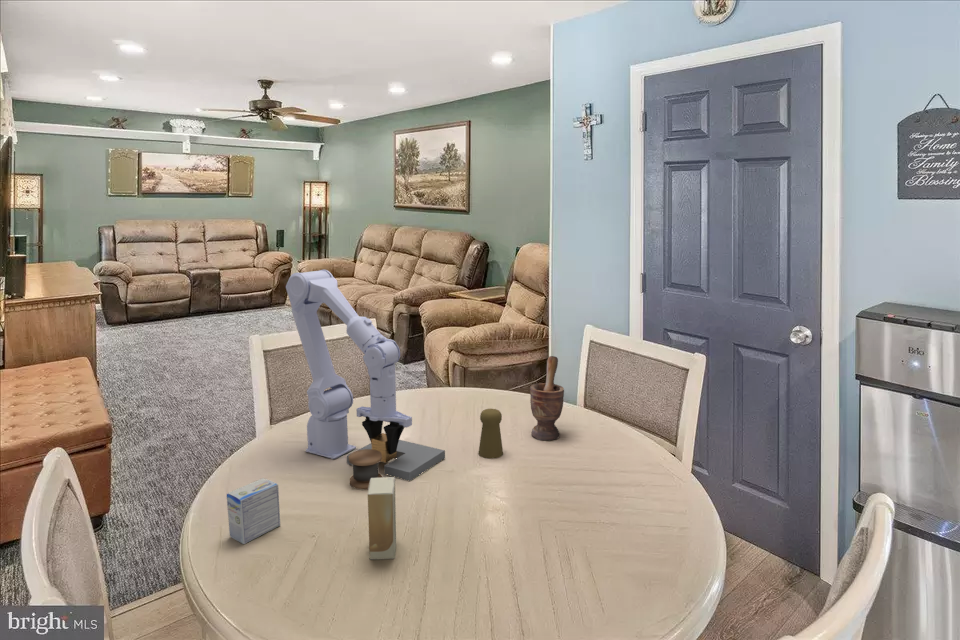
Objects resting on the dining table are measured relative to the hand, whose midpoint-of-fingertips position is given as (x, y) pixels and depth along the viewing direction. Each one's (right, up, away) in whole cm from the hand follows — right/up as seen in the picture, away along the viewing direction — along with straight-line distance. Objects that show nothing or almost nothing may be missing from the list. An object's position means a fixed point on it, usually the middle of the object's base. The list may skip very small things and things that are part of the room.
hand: (384, 450), depth 138 cm
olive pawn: (+25, -2, +7) cm, 26 cm away
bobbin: (-3, -5, -8) cm, 10 cm away
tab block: (0, -2, 0) cm, 2 cm away
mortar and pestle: (+39, 0, +21) cm, 44 cm away
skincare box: (+5, -10, -34) cm, 36 cm away
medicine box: (-19, -9, -28) cm, 35 cm away
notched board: (+2, -3, +3) cm, 5 cm away
